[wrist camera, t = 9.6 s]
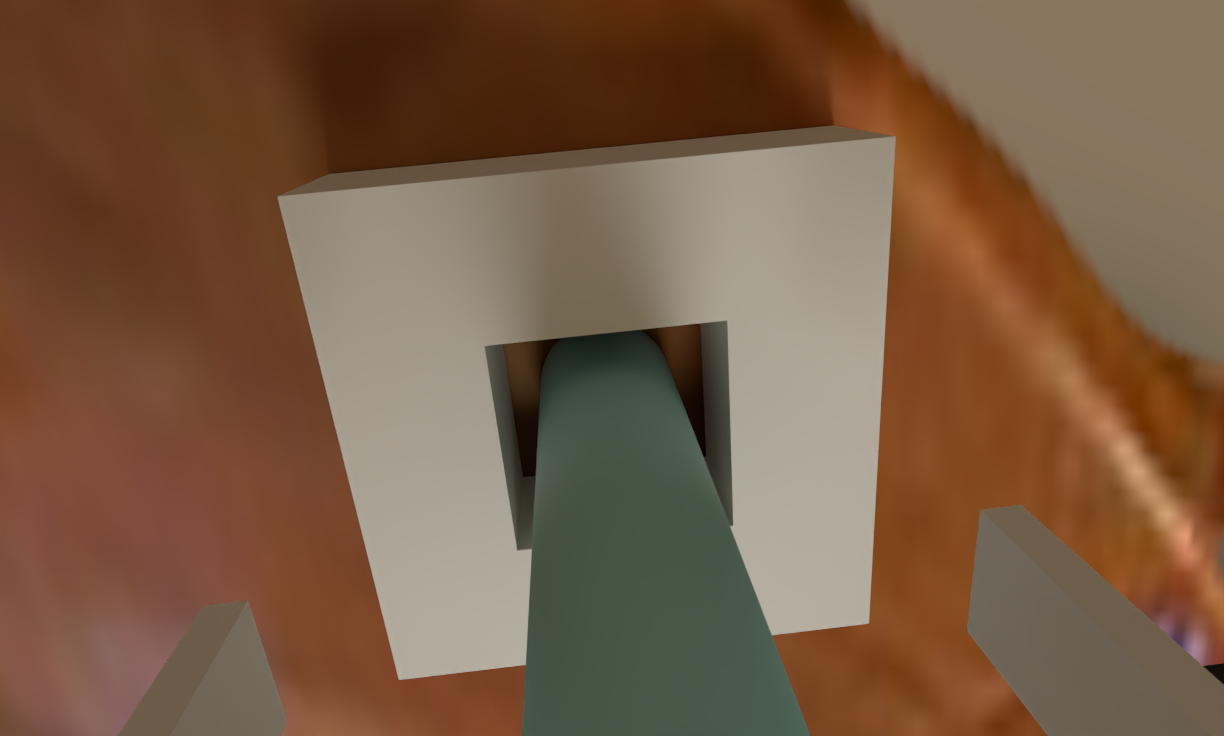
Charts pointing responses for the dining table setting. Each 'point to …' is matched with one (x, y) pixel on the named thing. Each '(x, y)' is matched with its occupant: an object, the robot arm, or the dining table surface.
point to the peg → (638, 565)
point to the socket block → (596, 304)
